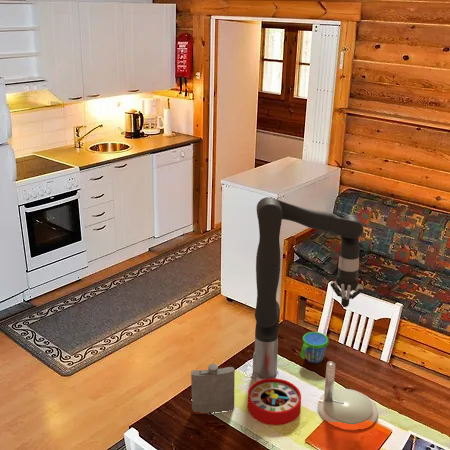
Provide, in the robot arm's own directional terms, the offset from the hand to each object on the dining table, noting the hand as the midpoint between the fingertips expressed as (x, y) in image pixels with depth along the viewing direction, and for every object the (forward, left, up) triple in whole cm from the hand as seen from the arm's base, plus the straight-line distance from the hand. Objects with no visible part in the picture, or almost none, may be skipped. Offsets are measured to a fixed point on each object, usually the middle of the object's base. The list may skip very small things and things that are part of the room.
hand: (345, 306), depth 224 cm
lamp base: (+8, -22, -31) cm, 39 cm away
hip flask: (-38, -42, -31) cm, 65 cm away
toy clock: (-18, -31, -32) cm, 48 cm away
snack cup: (-12, +5, -31) cm, 34 cm away
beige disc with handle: (+8, -22, -30) cm, 38 cm away
